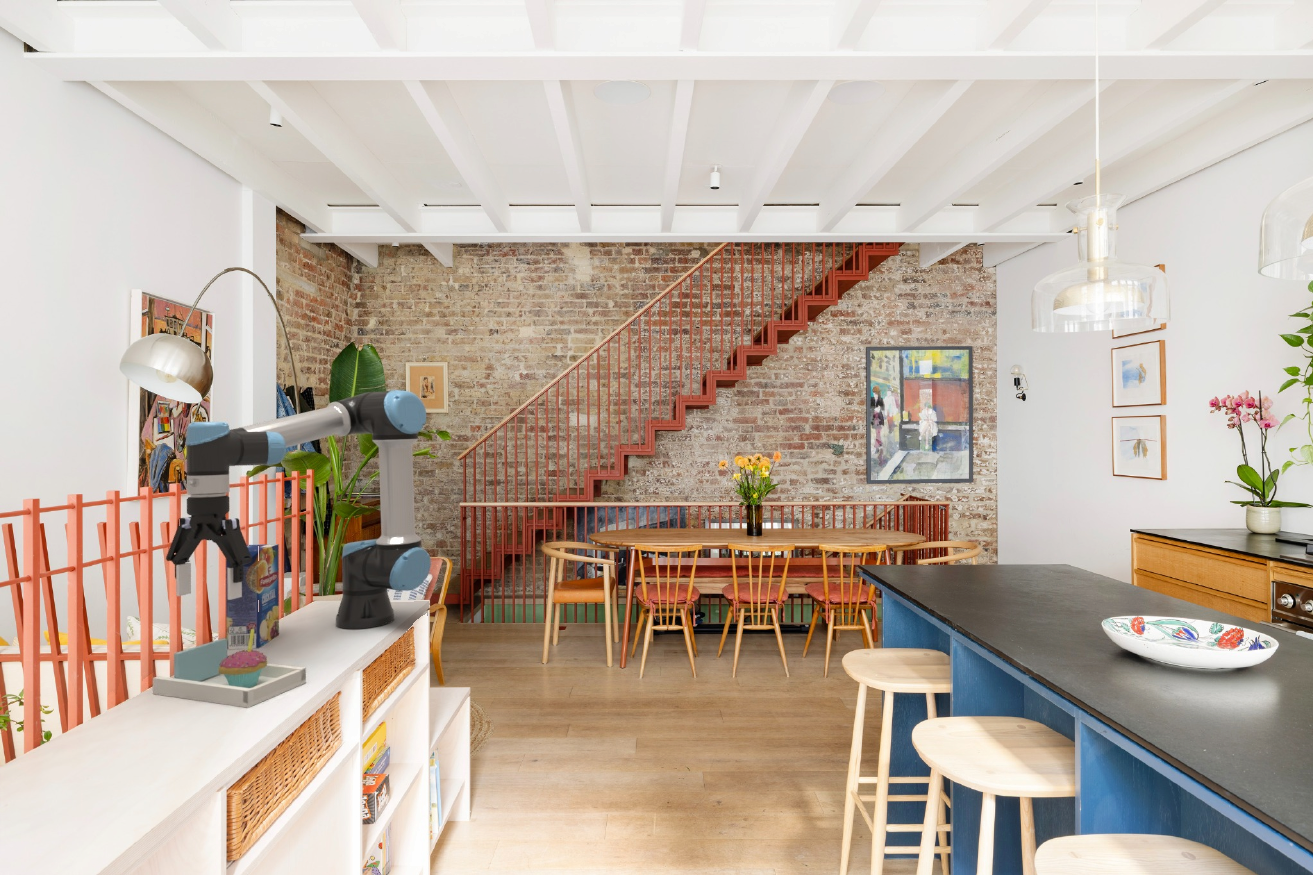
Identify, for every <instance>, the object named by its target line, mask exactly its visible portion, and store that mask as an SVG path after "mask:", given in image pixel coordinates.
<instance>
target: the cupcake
mask: <svg viewBox="0 0 1313 875" xmlns="http://www.w3.org/2000/svg"><path fill="white" fill-rule="evenodd" d="M253 636H254V626H253V629H252V630H251V632H250V639H249V645H248V649H241V650H239V651H236V652H235V653H232V654H230V655H227V658H225V659H224V660H222V661H221V663H220V664H219V665H220V667H219V673H220V674H223V675H224V676H225V677H226V679H227V681H228V684H229V686H236V687H244V688H251V687H254V686H255V685H256V684H257V682H258V679H259V676H260V673H261V671H262V669H263V668H264V667H266V666H267V663H268V660H267V658H268V657H267V656H266V655H265V654H264V653H263V652H261V651H259V650H254V649H252V643H253Z"/></svg>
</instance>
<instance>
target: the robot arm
mask: <svg viewBox="0 0 1313 875" xmlns="http://www.w3.org/2000/svg"><path fill="white" fill-rule="evenodd" d="M426 422H427V410H426V406H425V405H424V402H423V401H422V399H421V398H419V396H418V395H417V394H415V393H414V392H412V391H409V390H400V389H399V390H398V389H396V390H393V389H392V390H383V391H382V390H381V391H368V392H364V393H363V392H362V393H361V394H358V395H354V396H350V397H346V398H344V399H341V400H337V401H333V402H330V403H329V404H328V405H327V406H326V407H323V408H320V409H319V408H318V409H314V410H310V411H306V412H302V413H298V414H293V415H288V416H284V417H280V418H275V419H271V420H267V421H263V422H258V423H257V422H256V423H253V424H249V425H245V426H242V427H237V428H233V429H232V428H231V429H230V425H229V423H227V422H226V421H225V422H223V421H194V422H191V423H189V424H188V426H187V427H186V438H185V442H184V443H185V446H186V448H185V449H186V494H188V495H190V496H188V497H187V498H186V514H187V515H188V516H187V517H180V518H178V520H177V526H176V527H177V528H176V531H175V533H174V536H173V539H172V541H171V544H170V546H169V550H168V552H167V554H166V557H165V560H166V561H167V562H171V563H172V564H173V565H174V578H175V581H176V582H175V583H176V586H175V587H176V588H175V589H176V593H175V594H176V597H181V596H185V595H191V594H192V563H191V560H190V558H191V557H192V555H193V554H194V552H195V551H196V550H197V548H198V546H199V545H200V543H201V542H202V541H203V540H206V541H212V542H213V543H215V544H216V545H217V547H218V548H219V550H220V551H221V553H222V555H223V556H224V557H225V560H226V559H227V561H228V562H229V564H230V566H229V567H228V568H227V572H228V600H232V599H235V598H239V597H242V582H243V579H244V577H243V576H244V575H243V574H244V573H243V568H244V565H245V564H248V563H251V562H252V557H251V555H250V552H249V550H248V547H247V545H248V544H247V542H246V540H245V538H244V535H243V533H242V530H241V525H240V524H241V523H240V519H239V518H238V517H237V518H229V519H227V516H226V515H227V513H229V512H230V497H229V495H227V494H229V492H230V488H231V487H230V467H235V466H236V467H237V466H238V467H240V466H268V465H269V466H270V465H277V464H280V463H281V462H282V461H283V460H284V458H285V456H286V453H287V450H286V449H287V448H290V447H291V448H292V447H293V446H299V445H301V444H304V443H309V442H312V441H315V440H319V439H320V440H321V439H324V438H328V437H331V436H337V437H345V436H349V435H359V434H361V435H362V434H365V435H366V434H367V435H368V434H369V435H370V434H372V436H371V437H372V442H373V443H374V444H375V445H376V446H377V447H378V462H379V463H378V466H379V471H378V472H379V492H380V494H379V495H380V496H379V497H380V498H379V499H380V525H381V526H380V527H381V529H380V531H381V534H380V536H379V537H378V538H374V539H373V538H372V539H368V540H367V539H366V540H360V541H354V542H353V541H352V542H348V543H346V544H344V546H343V548H342V556H341V561H342V563H341V564H342V565H341V566H342V567H341V568H342V569H341V570H342V598H341V601H340V603H339V607H338V610H337V613H336V616H335V626H336V627H337V628H341V629H347V630H350V629H351V630H356V629H369V628H370V629H371V628H374V627H381V626H384V625H387V624H391V623H392V622H393V621H394V620H395V610H394V608H392V607H393V606H392V603H391V599H390V597H389V594H388V589H389V590H394V591H398V592H401V591H406V592H408V591H409V592H410V591H413V590H415V589H417V588H419V587H420V586H422V585H423V583H424V582H425V580H426V579H427V578H428V576H429V574H430V571H431V566H432V559H431V556H430V554H429V553H428V552H427V550H426V549H424V548H423V547H422V538H421V537H420V536H419V535H418V534H417V533H416V526H415V524H416V521H415V520H416V518H415V491H414V488H415V487H414V485H415V484H414V456H413V446H414V445H415V443H417V441H419V440H418V439H419V432H421V431H422V430H423V428H424V426H425V424H426ZM179 519H180V526H179ZM243 557H245V558H243ZM235 560H236V561H235Z"/></svg>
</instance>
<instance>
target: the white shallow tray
mask: <svg viewBox="0 0 1313 875" xmlns="http://www.w3.org/2000/svg"><path fill="white" fill-rule="evenodd" d="M306 673H307V667H304V666H293V665H285V664H284V665H283V664H277V663H269V662H267V666H266V667H264V668H263V669H262V671H261V673H260V676H259V679H258V682H257V684H256V685H255V686H254V687H251V688H244V687H236V686H229V684H228V681H227V679H226V677H225V676H224V675H223V674H218V675H215V676H212V677H209V678H207V679H204V680H201V681H191V680H184V679H176V678H174V677H168V676H160V675H158V676H156V677H155V676H154V677H152V694H153V695H158V696H159V695H160V696H165V697H171V698H179V699H185V700H192V701H199V702H208V703H213V704H220V705H228V706H235V707H239V708H241V707H242V708H250V707H251V708H252V707H253V706H255V705H258V704H260V703H262V702H265V701H267V700H270V699H271V698H275V697H277V696H279V695H282V694H283V693H286V692H288V691H291V690H293V689H296V688H298V687H300V686H302V685H305V684H306V683H307V679H306V678H307V677H306V675H307V674H306Z"/></svg>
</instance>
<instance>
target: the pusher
mask: <svg viewBox="0 0 1313 875" xmlns="http://www.w3.org/2000/svg"><path fill="white" fill-rule="evenodd" d="M227 657H228V650H227V639H226V638H225V637H224V638H220V639H217V640H214V641H210V642H207V643H203V644H201V645H200V644H199V645H197V646H194V647H191V648H188V649H187V648H186V649H184V650H181V651H177V652H174V653H173V670H174V672H173V678H176V679H184V680H191V681H201V680H204V679H207V678H209V677H212V676H215V675H218V674H220V673H219V667H220V665H219V664H220V663H221V661H222V660H224V659H225V658H227Z"/></svg>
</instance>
